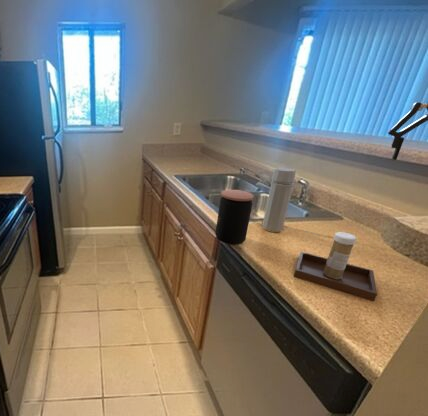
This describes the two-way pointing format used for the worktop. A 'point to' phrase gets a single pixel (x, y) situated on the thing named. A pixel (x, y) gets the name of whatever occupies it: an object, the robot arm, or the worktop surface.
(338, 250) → the sprinkles bottle
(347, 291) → the tray
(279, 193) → the grey thermos flask
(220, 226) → the coffee jar
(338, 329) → the worktop surface
